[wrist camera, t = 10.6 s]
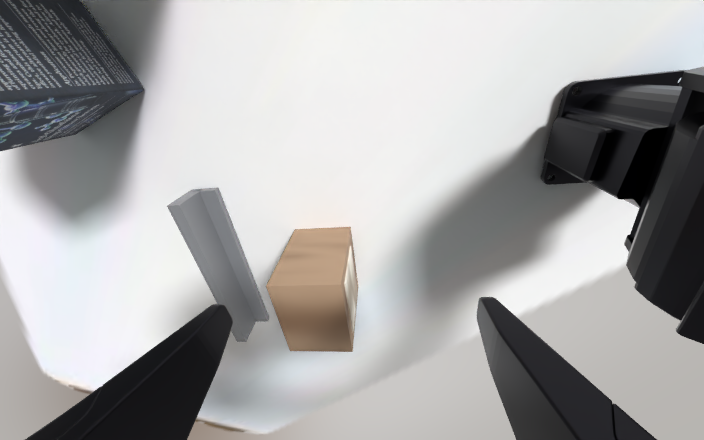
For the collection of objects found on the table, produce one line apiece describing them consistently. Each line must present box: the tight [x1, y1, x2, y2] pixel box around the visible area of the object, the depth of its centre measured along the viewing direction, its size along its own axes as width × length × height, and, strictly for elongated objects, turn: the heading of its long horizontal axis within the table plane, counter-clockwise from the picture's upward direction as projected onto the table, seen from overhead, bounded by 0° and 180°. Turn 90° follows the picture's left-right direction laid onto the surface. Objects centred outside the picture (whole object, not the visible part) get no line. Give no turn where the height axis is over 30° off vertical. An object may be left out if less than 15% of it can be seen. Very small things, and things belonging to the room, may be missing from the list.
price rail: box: [167, 188, 269, 342], centre depth 24 cm, size 16×3×3 cm, turn 6°
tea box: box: [266, 227, 358, 352], centre depth 22 cm, size 7×5×7 cm
